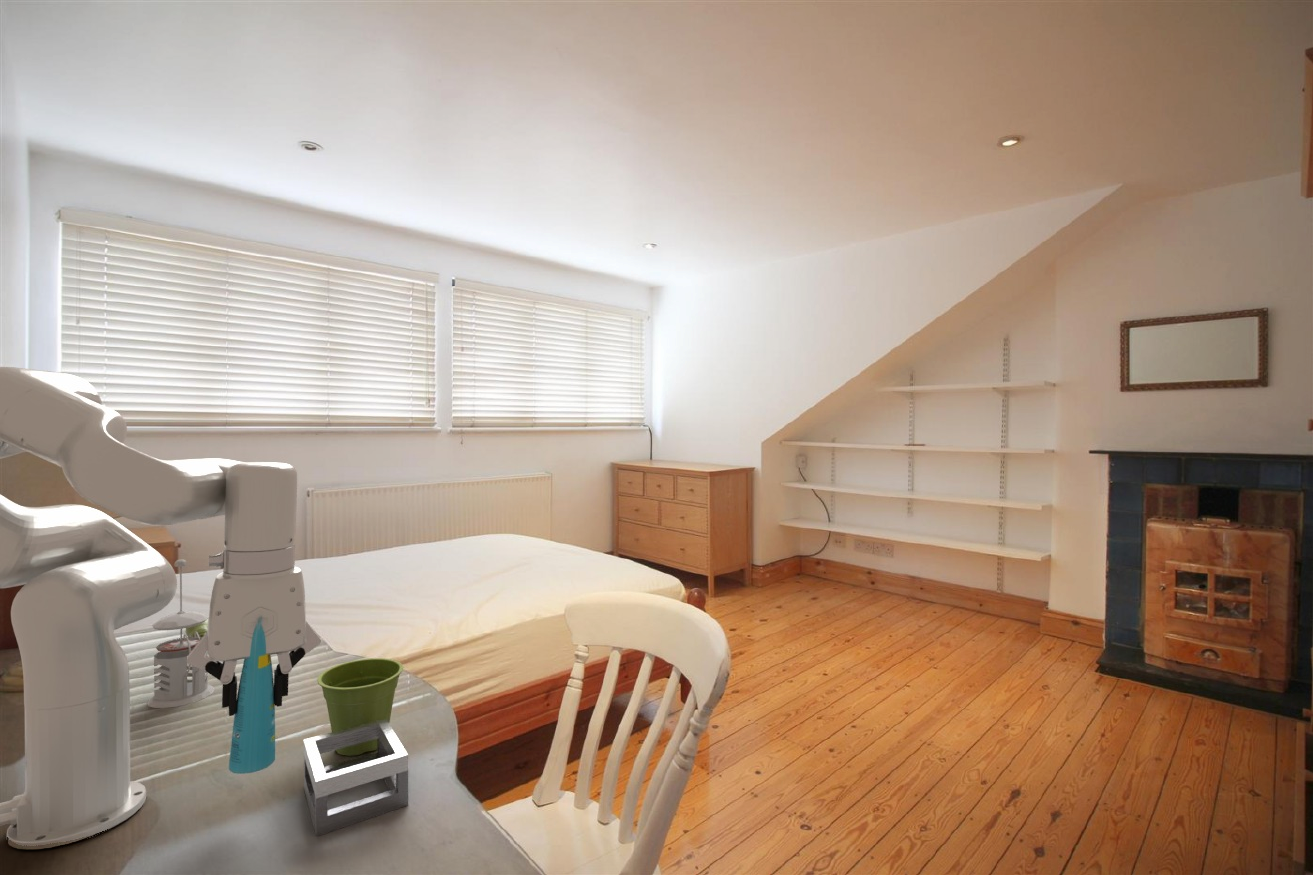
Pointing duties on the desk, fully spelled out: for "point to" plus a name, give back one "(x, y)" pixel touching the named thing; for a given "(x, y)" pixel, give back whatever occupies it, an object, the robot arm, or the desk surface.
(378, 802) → the square metal frame
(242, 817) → the desk surface
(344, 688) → the plant pot
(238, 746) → the tube
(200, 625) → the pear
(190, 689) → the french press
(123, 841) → the desk surface
